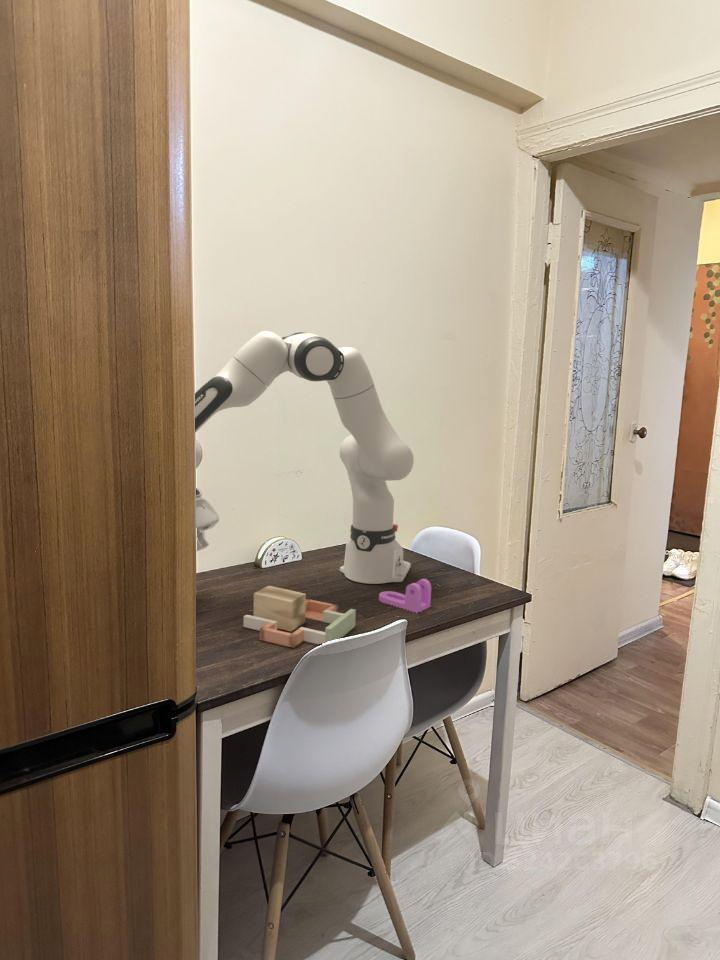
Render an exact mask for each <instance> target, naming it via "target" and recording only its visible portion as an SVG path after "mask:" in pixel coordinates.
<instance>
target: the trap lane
mask: <svg viewBox="0 0 720 960" xmlns="http://www.w3.org/2000/svg"><path fill="white" fill-rule="evenodd" d="M356 611H357V610H356V609H353V608H350V609H349V610H347V611H346V612H345V613H343V612H339V605H338V604H333V603H329V602H325V601H324V602H323V601H320V600H319V601H318V600H316V599H315V600H314V599H310V598H306V607H305V619H309V620H313V621H318V622H321V623H325V624H329V625H328V626H326V627H324V628H325V629H324V630H325V631H321V630H317V629H312V628H308V627H304V626H301V627H300V626H299V627H298V628H297V629H295V631H292V633H291V632H288V631H282V630H280V629H279V630H278V628H277V621H273V620H269V619H264V618H260V617H255V616H254V615H250V614H245V615H243V628H247V629H251V630H256V631H258V632H259V641H262V642H267V643H272V644H275V645H279V646H284V647H289V648H291V647H292V648H293V649H295V648H296V647H297V646H298V645H300V644H302V642H306V643H310V644H315V645H319V644H321V643H324V642H327V641H330V640H333V639H337V638H340V637H342V638H344V637H345V636H346V635H347V634H348V633H349V632H350V631H351V630H353V629H355V627H356V616H357V615H356V614H357V612H356ZM319 646H320V645H319Z"/></svg>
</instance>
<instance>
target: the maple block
mask: <svg viewBox="0 0 720 960" xmlns="http://www.w3.org/2000/svg"><path fill="white" fill-rule="evenodd" d="M306 596H307V593H304V592H301V591H294V590H291V589H286V588H282V587H281V588H280V587H277V586H273V585H267V586H265V587H263V588H261V589H259V590H257V591H256V592H254V593H253V616H255V617H260V618H264V619H269V620H273V621H277V630H278V629H279V630H281V631H282V630H284V631H285V632H289V633H291V632H294V630H297V629H298V628H300V626H302V625H304V624H305V623H306V618H305V607H306V599H307V598H306Z"/></svg>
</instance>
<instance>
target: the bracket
mask: <svg viewBox="0 0 720 960" xmlns="http://www.w3.org/2000/svg"><path fill="white" fill-rule="evenodd" d="M431 600H432V584H431V582H430V580H428V579H427V578H421V579H419V580H417V581H416V582H412V583H409V584H407V586H406V587H405V594H403V593H401V592H397V591H392V590H389V591H388V590H385V591H381V592H379V593H378V601H380V603H383V604H387V605H389V604H390V605H389V606H392V605H393V606H392V607H395V606H396V608H398V607H399V608H398V609H401V608H403V609H402V610H405V609H406V610H405V611H408V610H409V611H408V612H411V611H412V612H411V613H414V612H416V613H415V614H417V613H418V612H420V613H422V612H424V611H426V610H428V609H430V608H431V602H432V601H431ZM429 607H430V608H429ZM427 608H428V609H427ZM425 609H426V610H425ZM423 610H424V611H423ZM421 611H422V612H421ZM418 614H419V613H418Z"/></svg>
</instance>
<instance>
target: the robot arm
mask: <svg viewBox="0 0 720 960" xmlns="http://www.w3.org/2000/svg"><path fill="white" fill-rule="evenodd" d="M286 372H289V373H292V374H294V375H295V376H296V377H298V378H301V379H304V380H307V381H309V382H326V383H327V384H328V386H329V388H330V392H331V395H332V398H333V401H334V403H335V406H336V409H337V413H338V415H339V418H340V421H341V423H342V425H343V427H344V428H345V429H346V430H348V433H350V435H347V436H346V437H345V438H343V440H342V442H341V444H340V446H339V458H340V460H341V462H342V463H343V465H344V467H345V468H346V472H347V475H348V479H349V483H350V488H351V489H350V490H351V493H352V524H351V525H350V532H349V534H350V537H349V538H350V540H349V541H348V542H347V543H346V544H345V552H344V553H345V554H344V561H343V562H344V563H343V565H341V566H340V567H339V572H340V573H343V574H344V576H345V577H346V578H347V579H349V580H351V581H353V582H356V583H361V584H370V585H372V584H373V585H374V584H375V585H377V584H386V583H402V582H403V581H405V580H404V579H406V576H407V574H408V573H409V571H410V569H411V567H412V563H410V562H408V561H406V560H404V547H402V546H401V544H399V542H398V541H397V540H396V533H397V531H398V529H399V525H398V524H394V510H395V509H394V508H395V507H394V506H395V499H394V497H393V494H392V493H391V491H390V490H389V488H388V485H387V482H386V481H400V480H401V481H402V480H403V479H405V478H407V476H408V475H409V474H410V473H411V471H412V470H413V467H414V462H415V461H414V454H413V451H412V450H411V448H410V447H409V446H408V444H406V443H404V442H403V440H402V439H401V438H400V436H399V435H398V433H397V432H396V430H395V428H394V427H393V426H392V424H391V422H390V421H389V419H388V418H387V415H386V414H385V412H384V409H383V408H382V404H381V401H380V397H379V395H378V392H377V389H376V387H375V383H374V381H373V378H372V375H371V371H370V370H369V367H368V365H367V363H366V361H365V359H364V357H363V356H362V353H361V352H360V351H359V349H357V348H355V347H351V346H343V347H338V348H337V347H336V346H335V345H334V344H333V343H332V342H331V341H329V340H328V339H326V338H325V337H321V336H320V335H318V334H315V333H311V332H308V333H307V332H304V331H303V332H301V331H300V332H295V333H292V334H289V335H286V336H283V337H281V336H280V335H278V334H277V333H276V332H272V331H269V330H262V331H259V332H258V333H257V334H255V335H254V336H252V337H251V338H250V339H249V340H248V341H247V342H245V344H243V345H242V346H241V347H240V349H238V350H237V351H236V352H235V353H234V355H233V356H231V358H230V359H229V360H228V361H227V362H226V363H225V364H224V365H223V366H222V368H221V369H219V370H218V372H217V373H216V374H215V375H214V376H213V377H211V379H209V380H208V381H207V382H206V383H204V385H202V386H201V387H200V388H199V389H197V390H196V391H195V393H194V394H195V434H196V433H197V432H198V431H199V430H200V429H201V428H202V427H203V426H204V425H205V424H206V423H207V422H208V421H209V420H210V419H211V418H212V417H213V416H214V415H215V414H217V413H218V412H220V411H223V410H226V409H230V408H242V407H247V406H249V405H251V404H253V403H254V402H255V401H256V400H257V399H258V398H260V397H261V395H262V394H264V392H265V391H266V390H267V389H268V387H270V385H272V383H273V382H274V380H276V379H277V378H278V377H279V376H280V375H282V374H283V373H286ZM202 460H203V450H202V447H201V444H200V442H199V441H197V440H196V469H198V467H199V466H200V464H201V462H202ZM195 488H196V528H197V537H196V539H197V550H196V551H197V552H199V551H201V550H204V549H206V548H208V546H209V544H210V543H209V541H207V539H206V535H205V531H207V530H209V529H212V528H214V527H215V526H216V524H218V523H219V521H220V517H219V513H218V512H217V511H216V510H215V508H214V506H213V505H212V504H211V503H210V502H209V501H208V500H207V498H205V497H204V496H203V492H202V490H201V489H200V488H199V487H195Z"/></svg>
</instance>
